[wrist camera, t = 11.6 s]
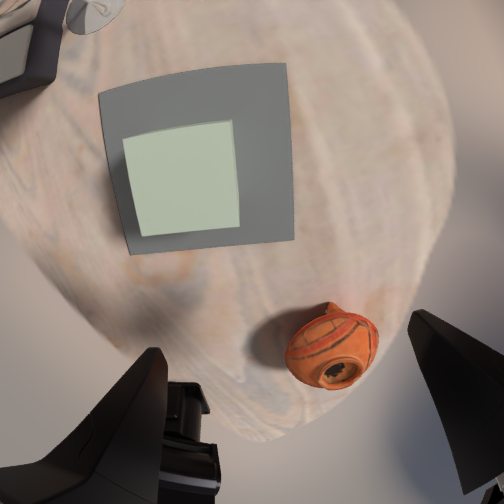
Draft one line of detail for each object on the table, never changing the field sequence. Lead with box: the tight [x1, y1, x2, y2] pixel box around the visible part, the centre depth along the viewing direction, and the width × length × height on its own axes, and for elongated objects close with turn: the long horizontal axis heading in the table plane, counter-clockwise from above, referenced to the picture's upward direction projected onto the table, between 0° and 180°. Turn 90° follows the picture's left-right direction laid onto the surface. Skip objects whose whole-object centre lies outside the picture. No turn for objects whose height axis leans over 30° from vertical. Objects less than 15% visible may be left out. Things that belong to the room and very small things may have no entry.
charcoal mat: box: [99, 63, 294, 255], centre depth 17 cm, size 12×12×1 cm
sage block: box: [123, 120, 240, 236], centre depth 15 cm, size 5×5×5 cm
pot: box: [285, 302, 379, 390], centre depth 22 cm, size 8×8×7 cm
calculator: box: [0, 0, 69, 99], centre depth 8 cm, size 11×4×15 cm
